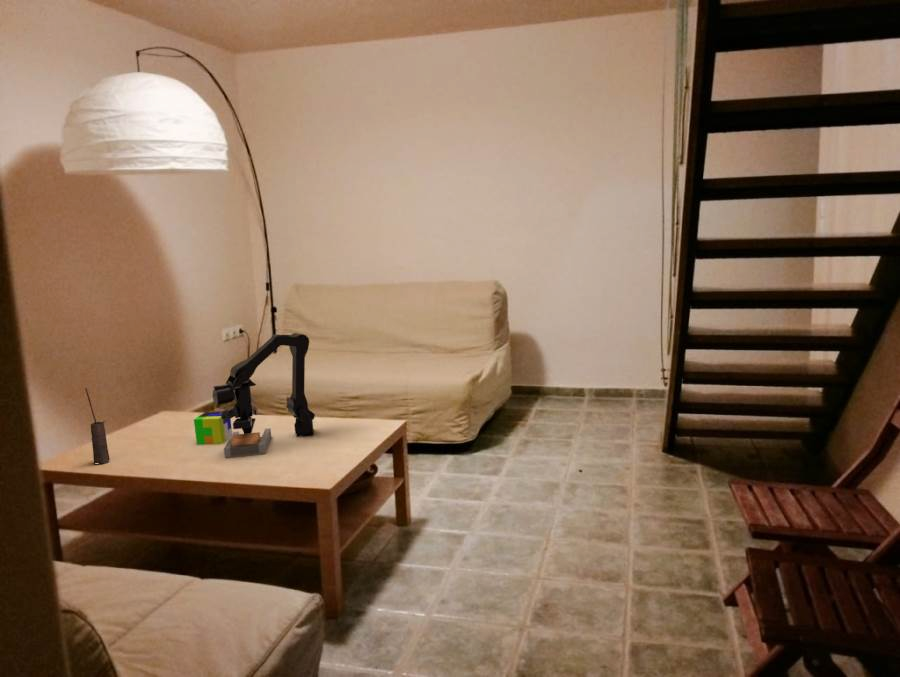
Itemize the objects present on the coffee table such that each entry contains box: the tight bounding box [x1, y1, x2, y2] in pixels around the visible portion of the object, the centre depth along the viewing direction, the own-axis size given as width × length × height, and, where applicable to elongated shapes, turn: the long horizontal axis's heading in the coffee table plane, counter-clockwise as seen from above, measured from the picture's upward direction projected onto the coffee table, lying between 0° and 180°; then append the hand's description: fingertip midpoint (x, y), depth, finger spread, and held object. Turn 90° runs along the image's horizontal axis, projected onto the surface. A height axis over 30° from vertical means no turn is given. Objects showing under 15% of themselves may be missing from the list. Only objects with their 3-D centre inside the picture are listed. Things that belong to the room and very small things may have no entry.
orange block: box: [231, 432, 261, 446], centre depth 252 cm, size 9×6×5 cm, turn 98°
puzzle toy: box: [193, 411, 233, 445], centre depth 269 cm, size 10×10×10 cm
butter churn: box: [84, 387, 111, 464], centre depth 249 cm, size 9×10×28 cm
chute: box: [223, 428, 272, 459], centre depth 257 cm, size 14×20×4 cm
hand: (248, 439), depth 257 cm, fingers closed
